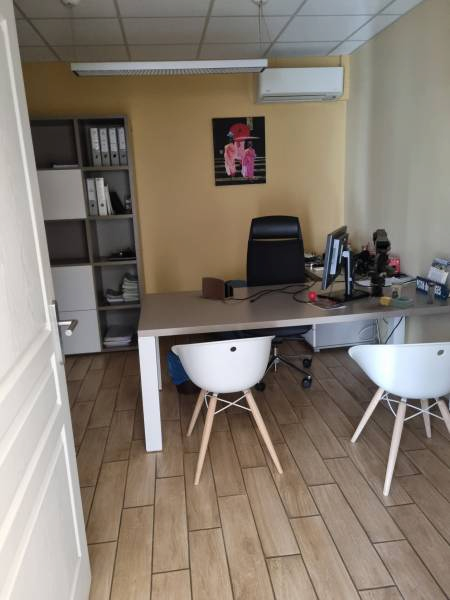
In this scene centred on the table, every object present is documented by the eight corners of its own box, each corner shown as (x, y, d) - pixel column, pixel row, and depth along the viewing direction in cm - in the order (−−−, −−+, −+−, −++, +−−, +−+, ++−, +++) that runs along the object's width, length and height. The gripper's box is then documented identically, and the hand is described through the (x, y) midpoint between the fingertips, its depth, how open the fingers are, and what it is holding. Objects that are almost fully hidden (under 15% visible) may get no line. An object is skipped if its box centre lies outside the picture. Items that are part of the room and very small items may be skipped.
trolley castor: (389, 301, 283) (389, 286, 280) (394, 299, 286) (395, 284, 284) (396, 302, 279) (397, 287, 276) (402, 301, 282) (403, 285, 280)
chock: (380, 304, 277) (380, 297, 276) (384, 303, 280) (384, 296, 279) (387, 305, 273) (388, 299, 272) (391, 304, 276) (392, 298, 275)
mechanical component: (408, 298, 288) (409, 282, 285) (391, 298, 290) (392, 282, 287) (407, 297, 290) (408, 281, 288) (390, 297, 292) (391, 281, 290)
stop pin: (424, 303, 276) (426, 283, 273) (428, 301, 278) (430, 282, 276) (431, 304, 273) (433, 284, 270) (435, 303, 275) (437, 283, 272)
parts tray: (390, 305, 273) (391, 299, 272) (399, 303, 278) (399, 296, 277) (404, 308, 266) (405, 302, 265) (413, 305, 271) (413, 299, 270)
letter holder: (224, 300, 298) (223, 279, 295) (202, 296, 311) (201, 276, 308) (234, 297, 305) (233, 276, 302) (212, 294, 318) (211, 273, 315)
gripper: (384, 264, 254) (382, 291, 258) (403, 259, 265) (401, 286, 269) (367, 261, 263) (365, 288, 266) (386, 257, 274) (384, 283, 277)
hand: (380, 286), depth 270 cm, fingers closed
